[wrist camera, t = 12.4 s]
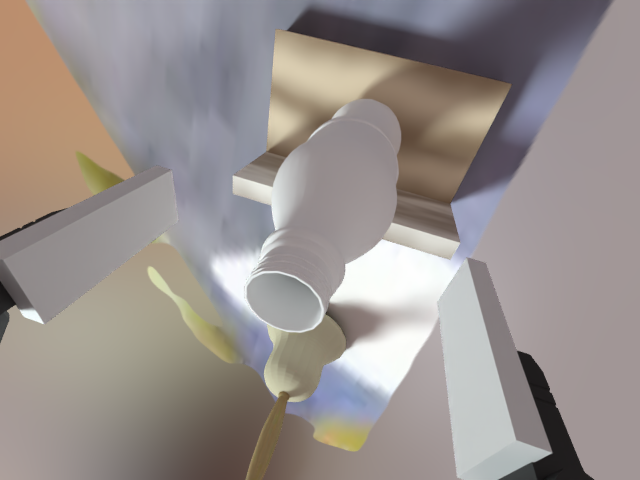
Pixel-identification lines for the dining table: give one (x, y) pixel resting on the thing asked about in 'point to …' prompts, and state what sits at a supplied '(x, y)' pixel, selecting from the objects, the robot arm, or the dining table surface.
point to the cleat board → (412, 114)
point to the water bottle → (326, 214)
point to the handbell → (293, 378)
